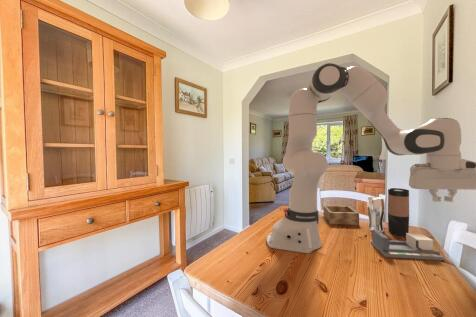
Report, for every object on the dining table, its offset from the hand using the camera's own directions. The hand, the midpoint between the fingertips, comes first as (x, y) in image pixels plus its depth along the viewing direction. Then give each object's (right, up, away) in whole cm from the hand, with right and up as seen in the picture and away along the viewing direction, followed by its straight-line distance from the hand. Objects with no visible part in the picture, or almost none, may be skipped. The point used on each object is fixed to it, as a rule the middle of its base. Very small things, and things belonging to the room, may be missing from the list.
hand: (442, 201), depth 74 cm
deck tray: (-18, -18, +38) cm, 46 cm away
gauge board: (-12, -19, +3) cm, 23 cm away
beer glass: (-8, -19, +23) cm, 31 cm away
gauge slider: (-7, -18, +1) cm, 19 cm away
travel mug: (-1, -19, +19) cm, 27 cm away
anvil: (-20, -18, +4) cm, 27 cm away
